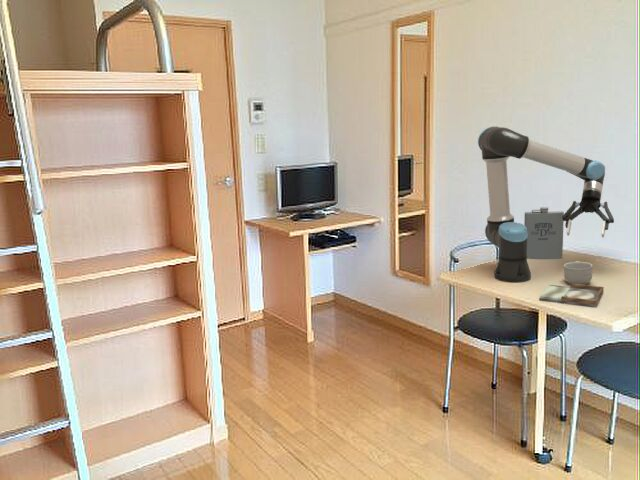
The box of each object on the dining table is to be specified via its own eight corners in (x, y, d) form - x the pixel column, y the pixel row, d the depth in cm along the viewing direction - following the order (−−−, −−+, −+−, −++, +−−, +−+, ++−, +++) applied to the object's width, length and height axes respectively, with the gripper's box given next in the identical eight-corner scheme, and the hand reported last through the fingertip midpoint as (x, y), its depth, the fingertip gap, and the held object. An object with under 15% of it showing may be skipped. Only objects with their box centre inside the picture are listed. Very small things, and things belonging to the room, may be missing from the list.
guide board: (539, 300, 220) (539, 294, 219) (549, 287, 234) (549, 281, 233) (596, 307, 209) (596, 301, 208) (603, 292, 223) (603, 286, 222)
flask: (524, 259, 275) (525, 208, 269) (523, 256, 279) (524, 206, 274) (563, 259, 270) (564, 207, 265) (561, 256, 275) (563, 205, 269)
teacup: (589, 288, 229) (590, 269, 227) (561, 285, 235) (561, 266, 233) (594, 278, 240) (595, 260, 239) (566, 276, 246) (567, 258, 244)
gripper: (624, 199, 246) (618, 241, 238) (562, 198, 260) (555, 237, 252) (623, 189, 241) (617, 231, 232) (560, 188, 255) (552, 228, 246)
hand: (585, 234), depth 242 cm, fingers open, 13 cm apart
